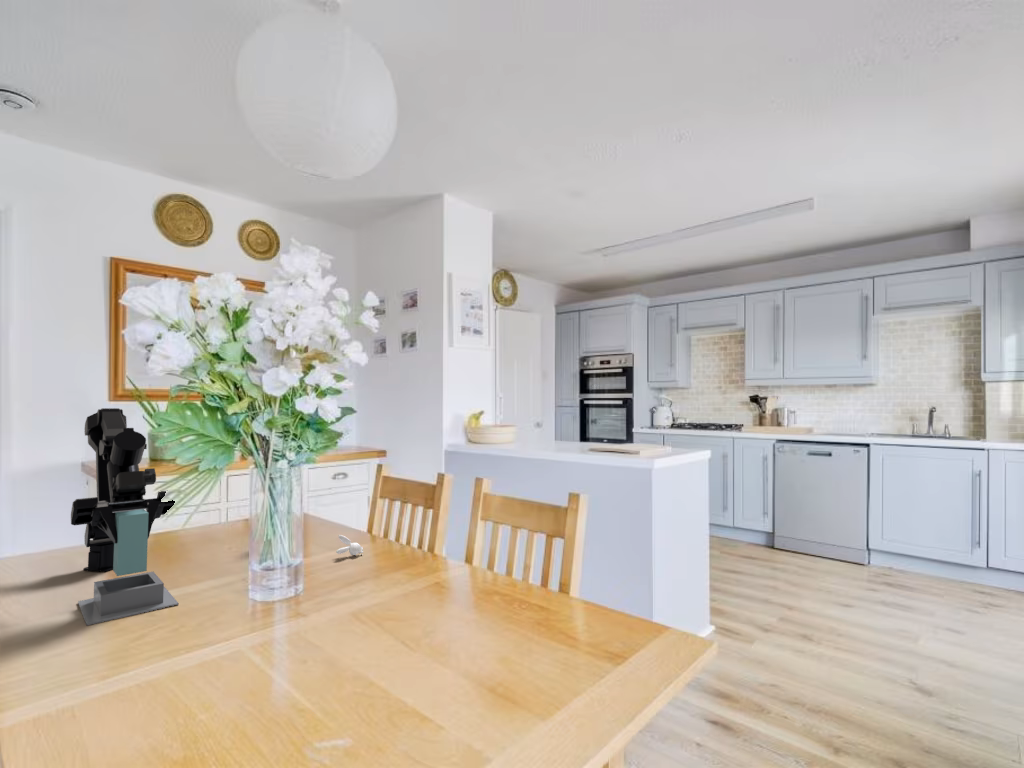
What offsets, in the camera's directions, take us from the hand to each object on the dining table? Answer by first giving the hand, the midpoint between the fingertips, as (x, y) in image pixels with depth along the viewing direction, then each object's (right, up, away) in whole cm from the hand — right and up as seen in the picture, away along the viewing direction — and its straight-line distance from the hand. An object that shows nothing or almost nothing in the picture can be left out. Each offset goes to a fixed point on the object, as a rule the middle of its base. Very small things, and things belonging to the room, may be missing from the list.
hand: (132, 540), depth 111 cm
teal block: (-1, -7, +1) cm, 7 cm away
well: (-1, -14, 0) cm, 13 cm away
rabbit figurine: (+34, -15, +36) cm, 51 cm away
